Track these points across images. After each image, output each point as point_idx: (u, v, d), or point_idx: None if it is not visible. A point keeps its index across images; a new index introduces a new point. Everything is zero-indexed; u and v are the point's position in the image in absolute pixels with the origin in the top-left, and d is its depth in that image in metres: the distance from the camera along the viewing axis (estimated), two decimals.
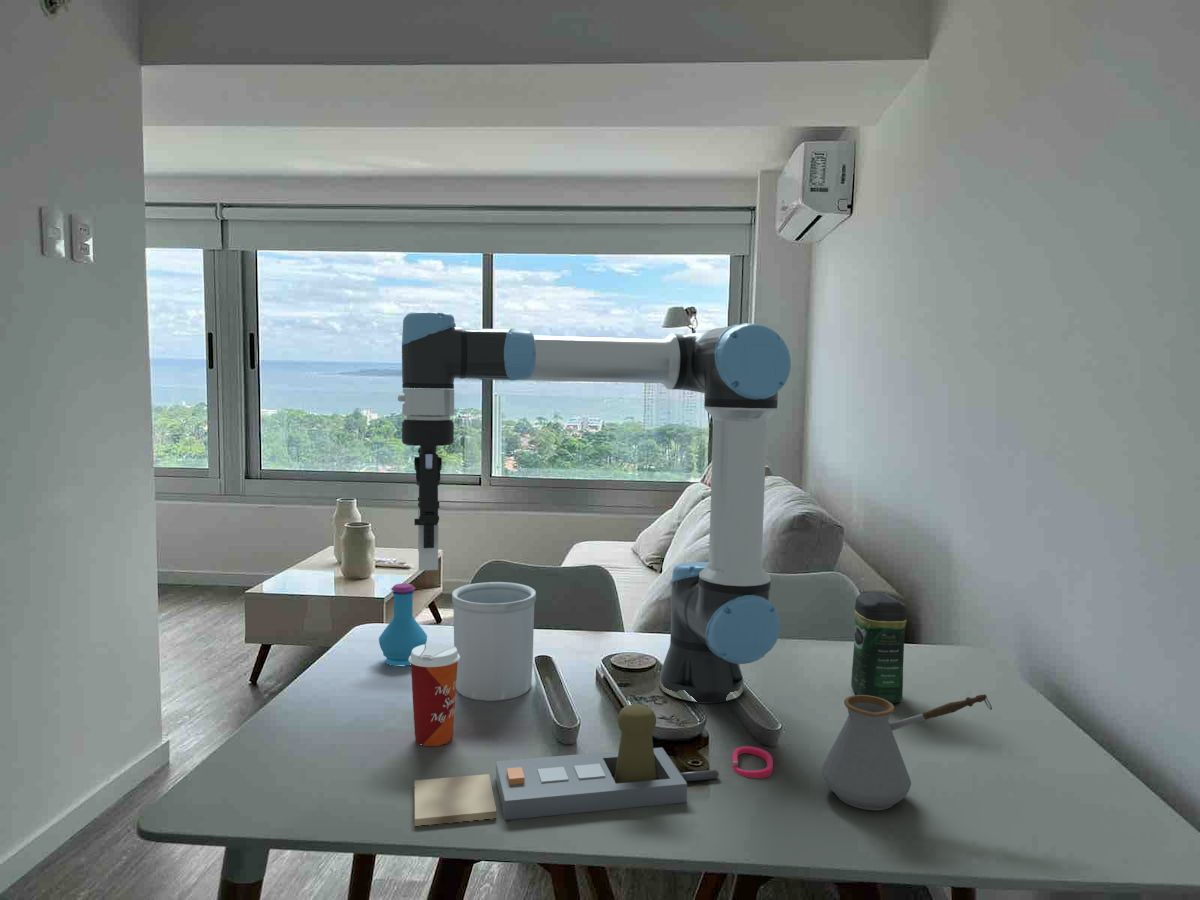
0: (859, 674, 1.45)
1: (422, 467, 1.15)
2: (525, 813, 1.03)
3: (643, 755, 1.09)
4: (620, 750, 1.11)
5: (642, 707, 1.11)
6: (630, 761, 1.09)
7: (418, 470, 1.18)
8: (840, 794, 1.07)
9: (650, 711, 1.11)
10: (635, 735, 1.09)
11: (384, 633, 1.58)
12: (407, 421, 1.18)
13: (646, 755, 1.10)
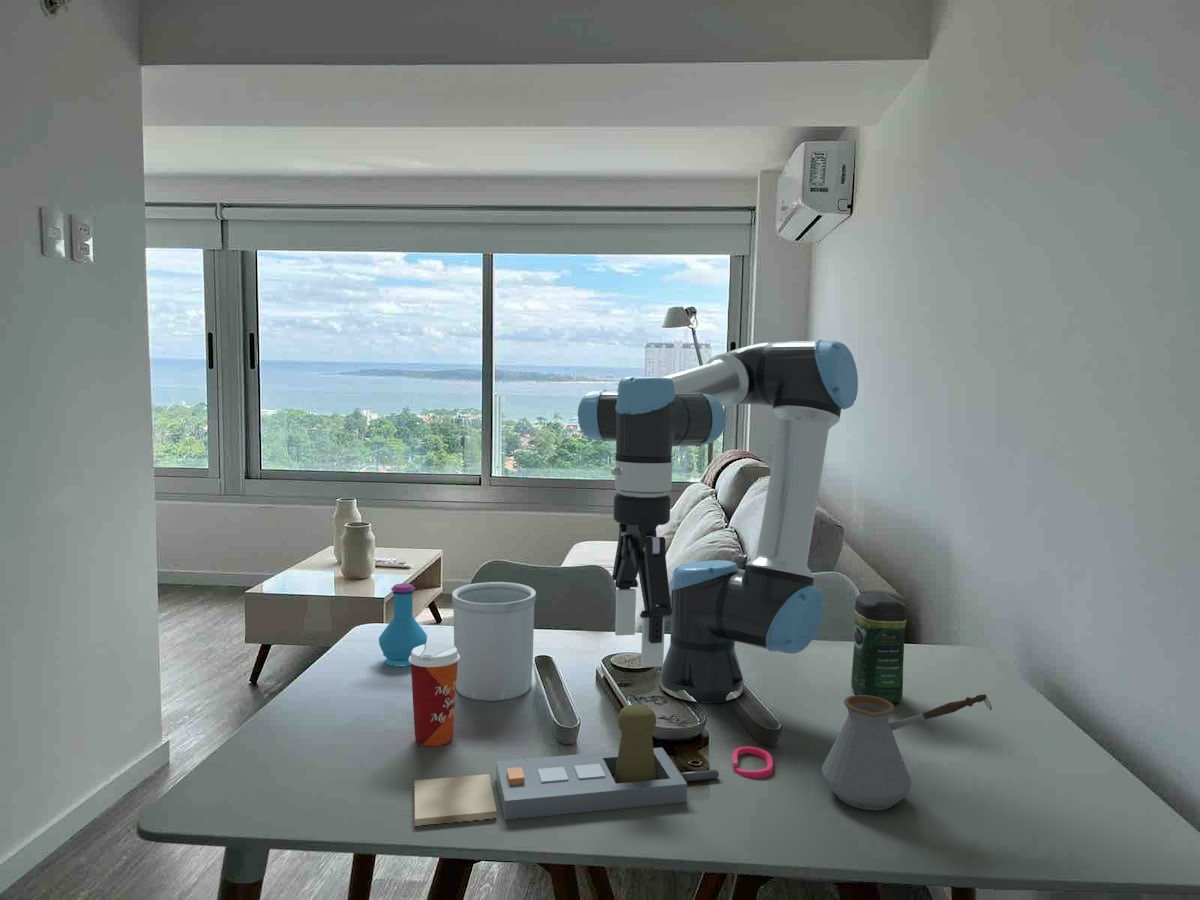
0: (859, 674, 1.45)
1: (649, 552, 1.02)
2: (525, 813, 1.03)
3: (643, 755, 1.09)
4: (620, 750, 1.11)
5: (642, 707, 1.11)
6: (630, 761, 1.09)
7: (636, 553, 1.06)
8: (840, 794, 1.07)
9: (650, 711, 1.11)
10: (635, 735, 1.09)
11: (384, 633, 1.58)
12: (624, 498, 1.06)
13: (646, 755, 1.10)
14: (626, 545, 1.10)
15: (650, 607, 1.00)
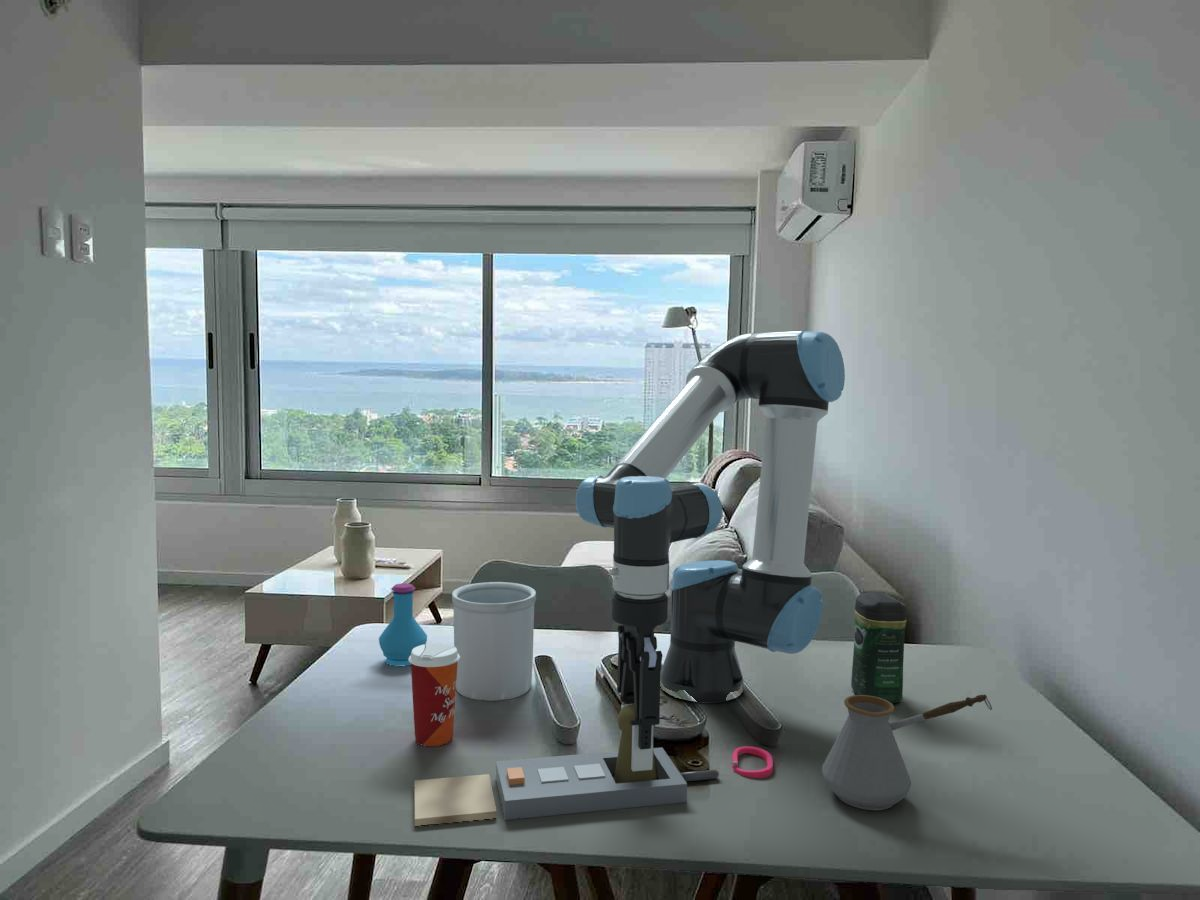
0: (859, 674, 1.45)
1: (645, 667, 1.04)
2: (525, 813, 1.03)
3: None
4: (620, 750, 1.11)
5: None
6: (630, 761, 1.09)
7: (633, 657, 1.08)
8: (840, 794, 1.07)
9: None
10: None
11: (384, 633, 1.58)
12: (622, 599, 1.07)
13: None
14: (625, 642, 1.11)
15: (640, 716, 1.05)
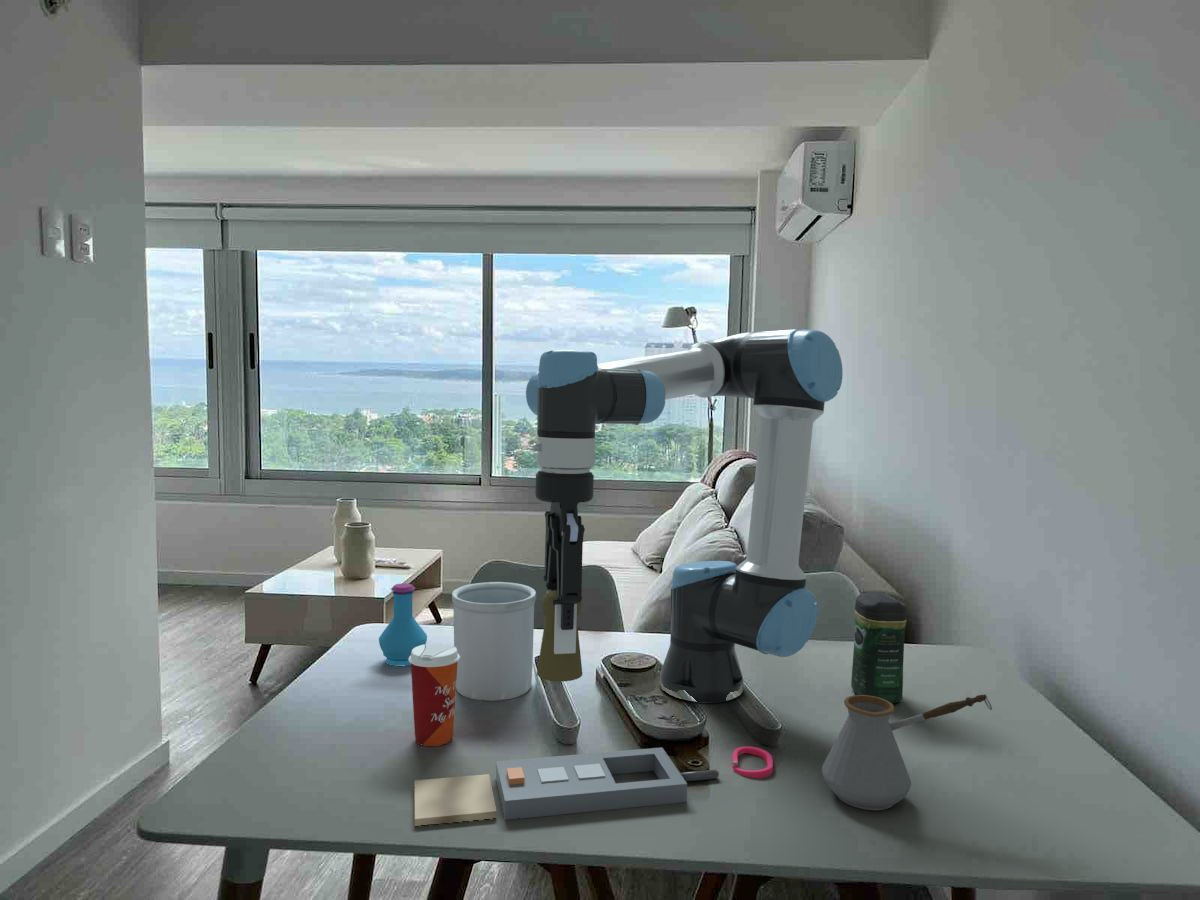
0: (859, 674, 1.45)
1: (566, 541, 1.00)
2: (525, 813, 1.03)
3: None
4: (543, 635, 1.07)
5: None
6: (553, 645, 1.05)
7: (556, 534, 1.04)
8: (840, 794, 1.07)
9: None
10: None
11: (384, 633, 1.58)
12: (545, 474, 1.03)
13: None
14: (549, 523, 1.07)
15: (561, 594, 1.01)
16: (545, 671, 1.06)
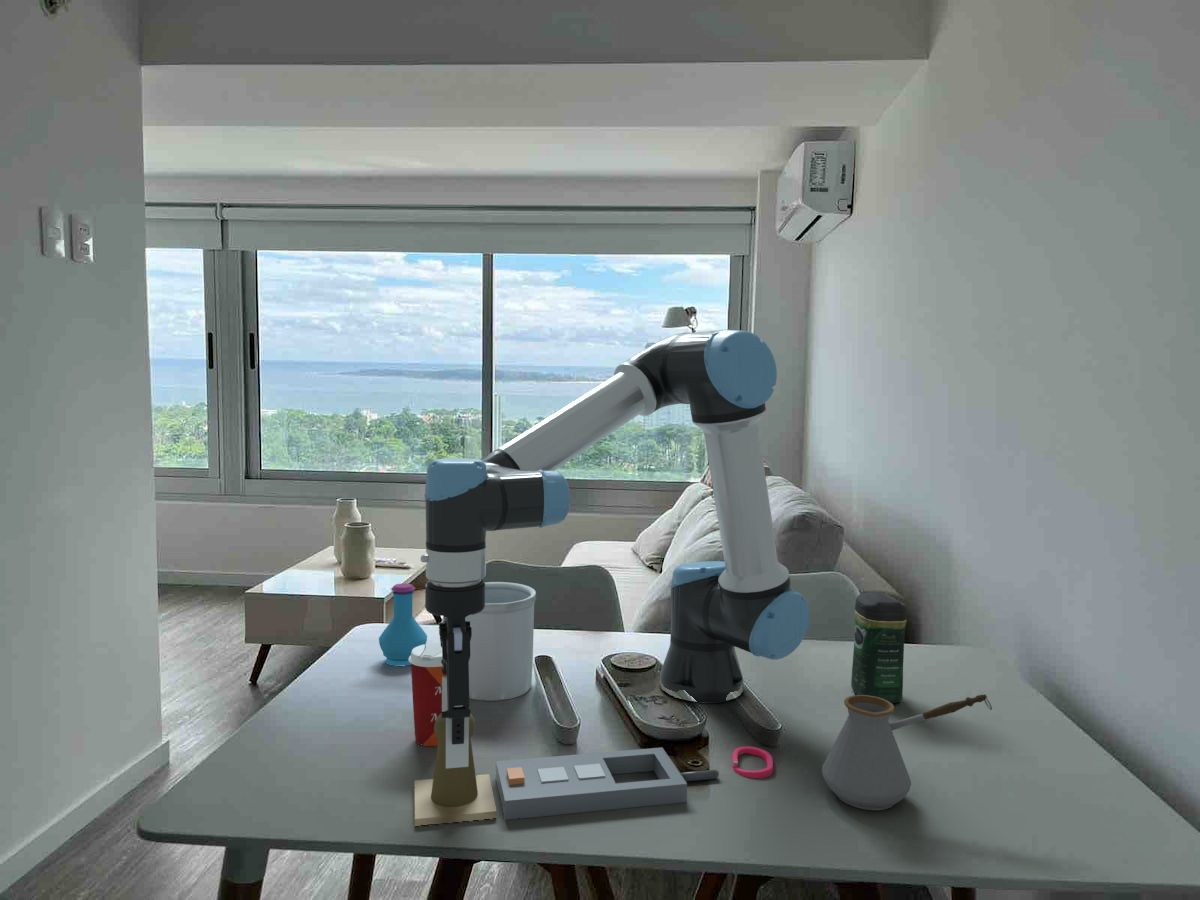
0: (859, 674, 1.45)
1: (450, 649, 0.98)
2: (525, 813, 1.03)
3: None
4: (436, 758, 1.05)
5: None
6: (444, 769, 1.04)
7: (444, 645, 1.02)
8: (840, 794, 1.07)
9: None
10: None
11: (384, 633, 1.58)
12: (432, 587, 1.02)
13: None
14: None
15: (448, 708, 0.96)
16: (437, 795, 1.04)
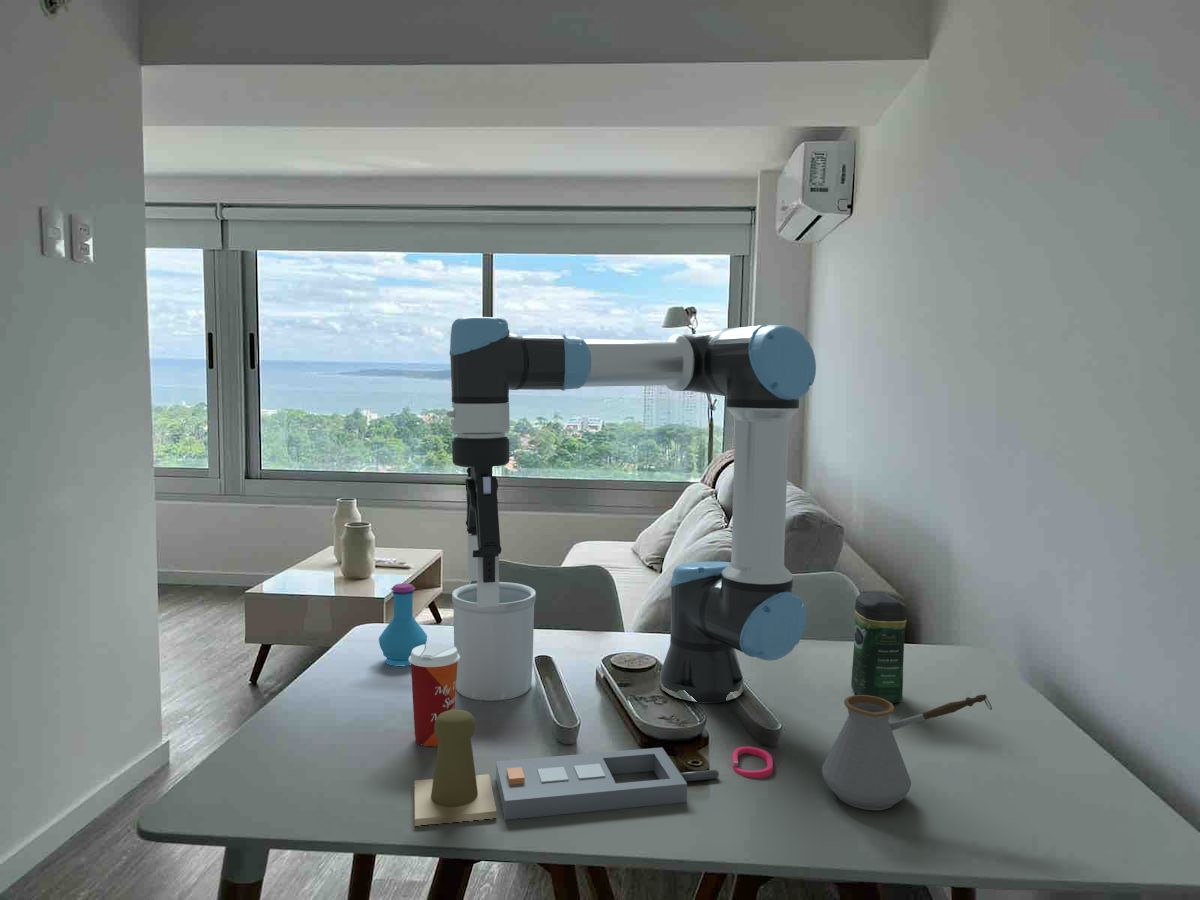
0: (859, 674, 1.45)
1: (480, 492, 1.02)
2: (525, 813, 1.03)
3: (458, 763, 1.04)
4: (436, 758, 1.05)
5: (460, 712, 1.06)
6: (444, 769, 1.04)
7: (473, 494, 1.06)
8: (840, 794, 1.07)
9: (468, 716, 1.05)
10: (449, 742, 1.04)
11: (384, 633, 1.58)
12: (459, 440, 1.06)
13: (462, 763, 1.04)
14: None
15: (480, 546, 1.00)
16: (437, 795, 1.04)
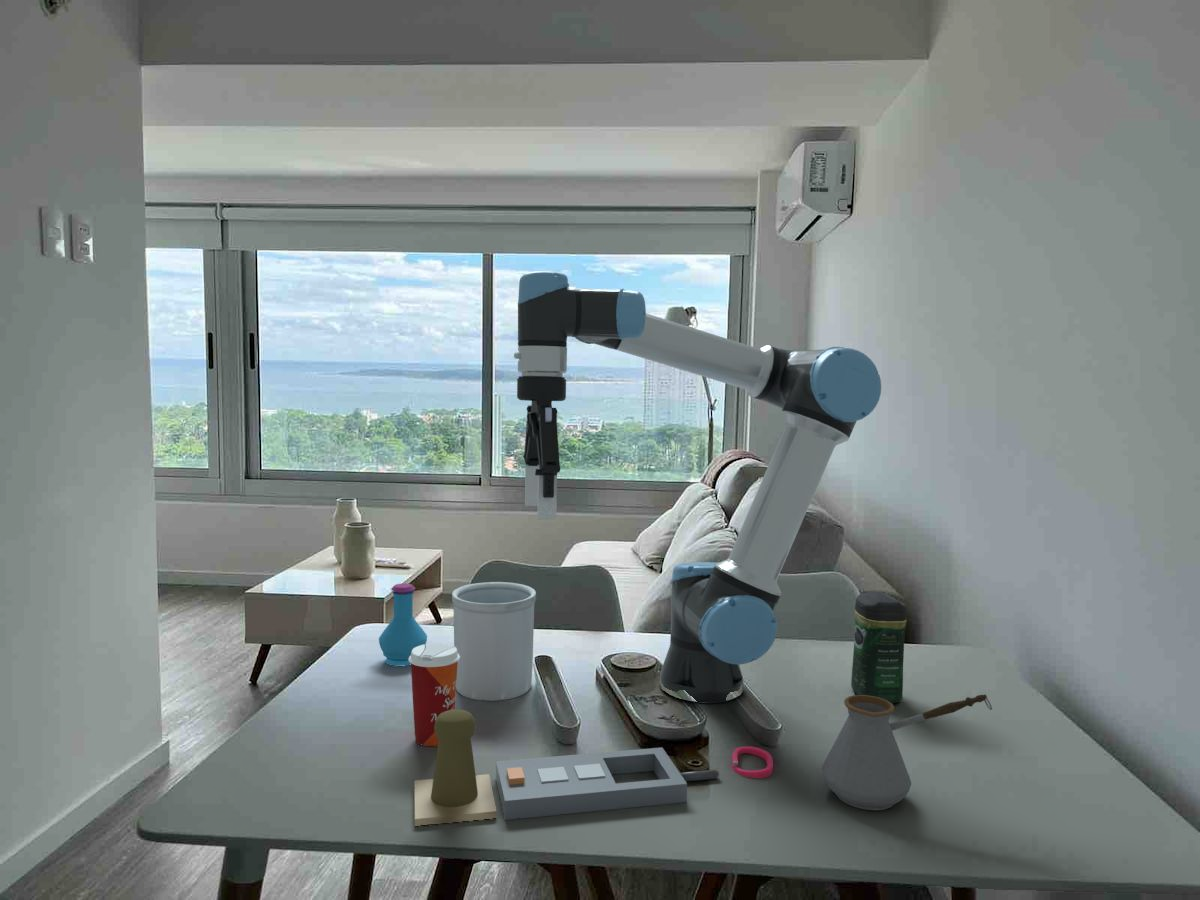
0: (859, 674, 1.45)
1: (542, 420, 1.19)
2: (525, 813, 1.03)
3: (458, 763, 1.04)
4: (436, 758, 1.05)
5: (460, 712, 1.06)
6: (444, 769, 1.04)
7: (535, 424, 1.23)
8: (840, 794, 1.07)
9: (468, 717, 1.05)
10: (449, 742, 1.04)
11: (384, 633, 1.58)
12: (524, 377, 1.23)
13: (462, 763, 1.04)
14: (529, 421, 1.27)
15: (542, 465, 1.17)
16: (437, 796, 1.04)
